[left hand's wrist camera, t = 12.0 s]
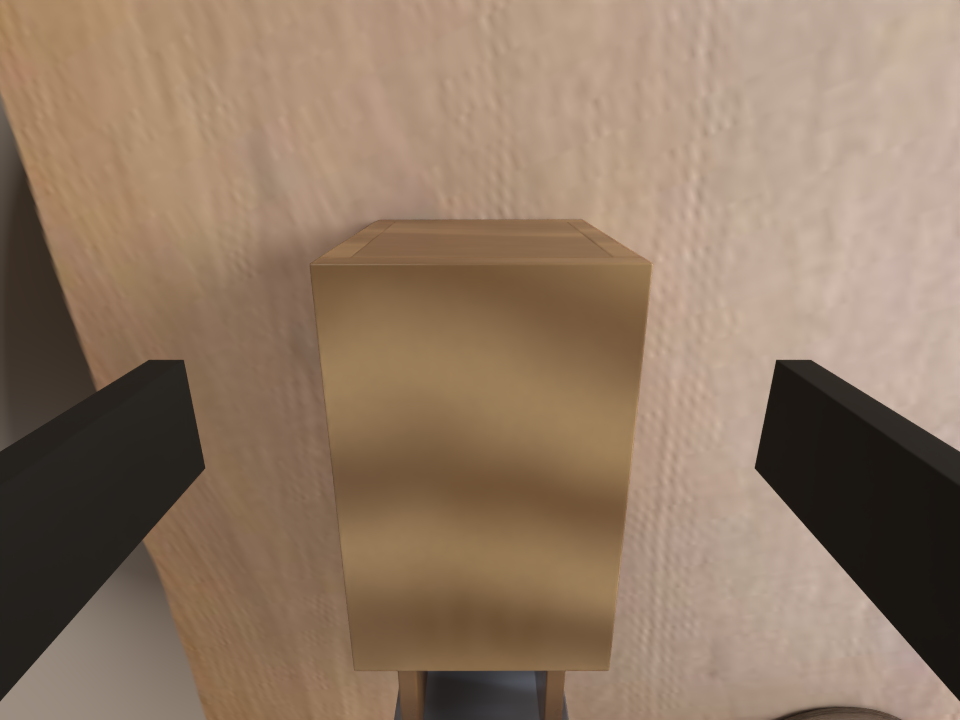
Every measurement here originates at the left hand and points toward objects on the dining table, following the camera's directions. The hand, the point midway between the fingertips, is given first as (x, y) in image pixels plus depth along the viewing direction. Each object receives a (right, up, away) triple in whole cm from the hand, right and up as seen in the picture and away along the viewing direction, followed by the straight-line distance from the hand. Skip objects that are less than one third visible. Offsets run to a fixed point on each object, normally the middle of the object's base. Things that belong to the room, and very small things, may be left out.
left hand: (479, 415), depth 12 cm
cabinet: (0, +1, +18) cm, 18 cm away
